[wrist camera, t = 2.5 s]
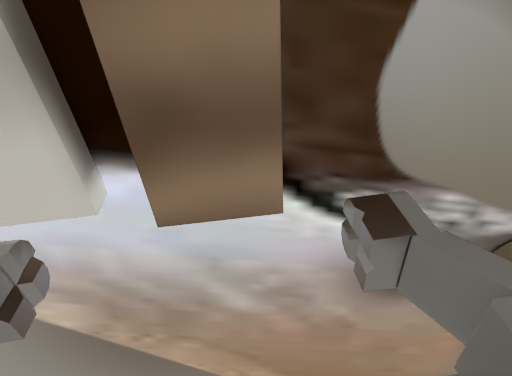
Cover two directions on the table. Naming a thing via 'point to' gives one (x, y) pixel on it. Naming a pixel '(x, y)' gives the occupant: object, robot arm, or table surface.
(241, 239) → the table surface
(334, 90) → the table surface
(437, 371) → the table surface
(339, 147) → the table surface
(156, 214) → the block
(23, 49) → the marked board
